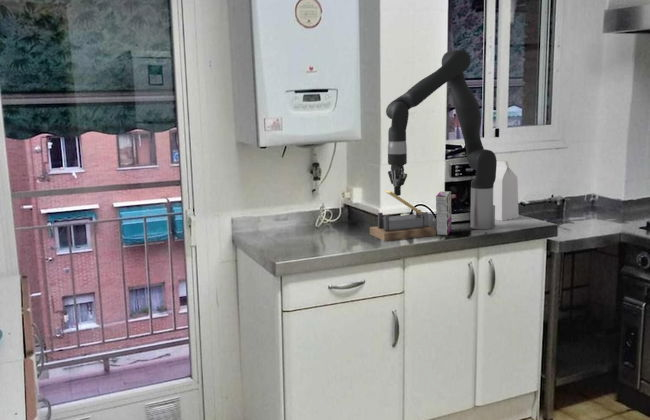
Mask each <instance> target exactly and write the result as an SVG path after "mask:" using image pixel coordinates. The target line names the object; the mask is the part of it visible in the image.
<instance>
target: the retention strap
mask: <svg viewBox="0 0 650 420" xmlns="http://www.w3.org/2000/svg"><path fill="white" fill-rule="evenodd" d="M385 193H386V194H387V195H390V196H391V197H392V198H394V199H396V200H397V201H398V202H400V203H401V204H403V205H405V206H406V207H408V208H409V209H411V210H413V211H414V212H415V213H416V212H417V213H418V214H419V215H421V217H423V212H424V211H422V210H421V209H418V208H417V207H415V206H414V205H412V204H411V203H410V202H408V201H406V199H405V200H404V199H403V198H402V197H400V196H397V195H396V194H394V191H390V190H387V189H386V190H385ZM420 210H421V211H420Z"/></svg>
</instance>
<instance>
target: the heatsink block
mask: <svg viewBox="0 0 650 420" xmlns="http://www.w3.org/2000/svg"><path fill="white" fill-rule="evenodd" d="M419 210H420V211H421V212H423V216H421V215H419V214H418V213H417V212H416V211H415V214H413V213H412V214H404V215H403V214H401V215H394V216H393V215H392V216H390V215H389V214H384V213H383V212H377V226H378V228H379V229H384V231H397V230H406V229H415V228H423V227H428V225H429V212H428V211H422V210H421V209H419Z"/></svg>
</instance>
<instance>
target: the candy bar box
mask: <svg viewBox="0 0 650 420" xmlns="http://www.w3.org/2000/svg"><path fill="white" fill-rule="evenodd" d="M435 210H436V211H435V213H436V216H435V217H436V218H435V220H436V224H435V225H436V227H435V228H436V236H449V234H450V233H451V231H452V191H439V193H437V194H436V196H435Z"/></svg>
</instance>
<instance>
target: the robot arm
mask: <svg viewBox="0 0 650 420" xmlns="http://www.w3.org/2000/svg"><path fill="white" fill-rule="evenodd" d="M471 61H472V60H471V56H470V54H469V53H468V52H467V51H466V50H463V49H456V50H454V49H453V50H451V51H446V52H445V53H444V54H443V55H442V57H441V66H440V67H439V68H438V69H437V70H435V71H434V72H432V73H431V74H429V75H427V76H426V77H424V78H422V79H421V80H419V81H417V83H415V84H414V85H413V86H411V88H409V89H408V90H407V91H406V92H405V93H404V94H401V95H400V96H398V97H397V98H395V99H394V100H392V101H391V102H389V104H387V106H386V109H385V113H386V116H387V118H388V119H390V120H391V125H390V127H389V128H388V144H387V164H388V165H390V170H388V171H387V174H388V177H389V181H390V183H391V185H393V193H394V194H396V195H397V196H399V197H400V196H401V194H402V189H401V188H402V186H404V185H405V182H406V180H407V177H408V173H405V167H404V166H405V165H407V163H408V160H407V159H408V153H407V152H408V149H407V147H408V146H407V126H408V122H409V117H410V115H409V110H410V109H412V108H415V107H417V106H418V105H420V104H422V103H423V102H424V101H425V100H426V99H427V98H429V96H431V95H432V94H433V93H435V91H437V90H438V89H440V88H441V87H443V85H444V84H446V83H447V84H448V86H449V90H450V93H451V98H452V101H453V105H454V108H455V113H456V116H457V119H458V123H459V126H460V130H461V134H462V137H463V140H464V147H465V152H466V157H467V158H466V159H467V163H468V166H469V168H471V169H472V170H473V171H475V177H474V179H472V180H471V181H470V220H469V221H470V223H469V224H470V228H471V229H474V230H475V229H476V230H490V229H493V228H495V227H496V225H495V224H496V220H495V205H493V187H494V182H495V179H496V166H497V161H498V160H497V156H496V153H494V152H493V151H492V150H491V149H485V148H484V146H483V143H482V139H481V135H480V134H481V128H482V127H481V126H482V125H481V124H482V114H481V111H480V106H479V102H478V100H477V98H476V96H475V95H474V93H473V91H472V90H471V89H470V87H469V85H468V84H467V81H466V78H465V74H464V72H466V71H467V70H468V69H469V68H470V65H471V63H472V62H471Z"/></svg>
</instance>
